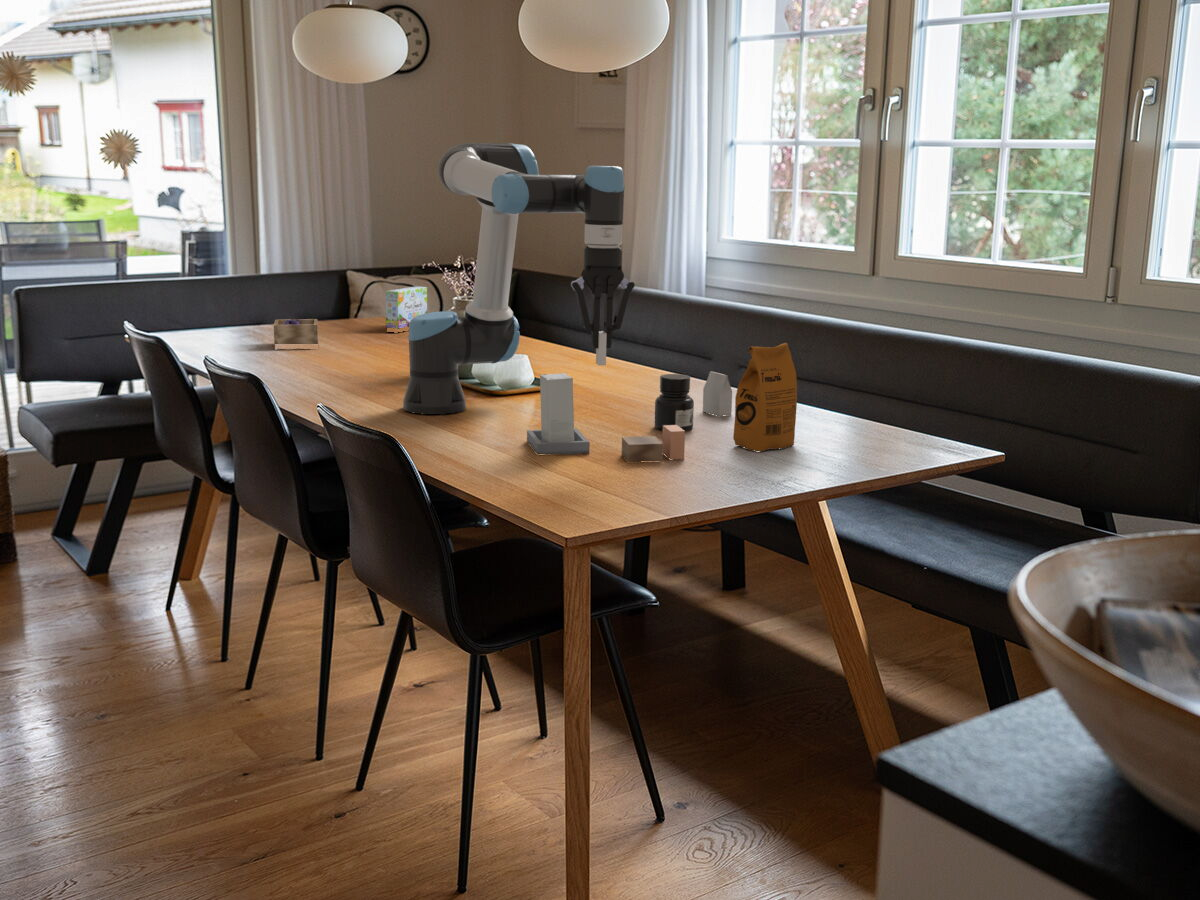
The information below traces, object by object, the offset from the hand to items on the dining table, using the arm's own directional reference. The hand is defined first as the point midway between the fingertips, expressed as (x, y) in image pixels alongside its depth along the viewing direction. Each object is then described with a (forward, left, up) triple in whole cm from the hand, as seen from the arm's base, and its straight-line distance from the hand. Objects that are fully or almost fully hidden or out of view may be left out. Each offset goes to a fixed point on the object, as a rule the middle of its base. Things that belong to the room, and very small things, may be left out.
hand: (600, 364), depth 239 cm
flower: (-66, +167, -20) cm, 181 cm away
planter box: (-64, +165, -19) cm, 178 cm away
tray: (-7, +10, -19) cm, 23 cm away
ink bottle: (+23, +25, -20) cm, 39 cm away
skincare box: (-7, +10, -19) cm, 22 cm away
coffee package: (+37, +4, -20) cm, 42 cm away
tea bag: (+38, +39, -20) cm, 58 cm away
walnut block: (+8, -3, -20) cm, 21 cm away
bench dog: (+15, -2, -19) cm, 25 cm away
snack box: (-26, +202, -20) cm, 204 cm away
